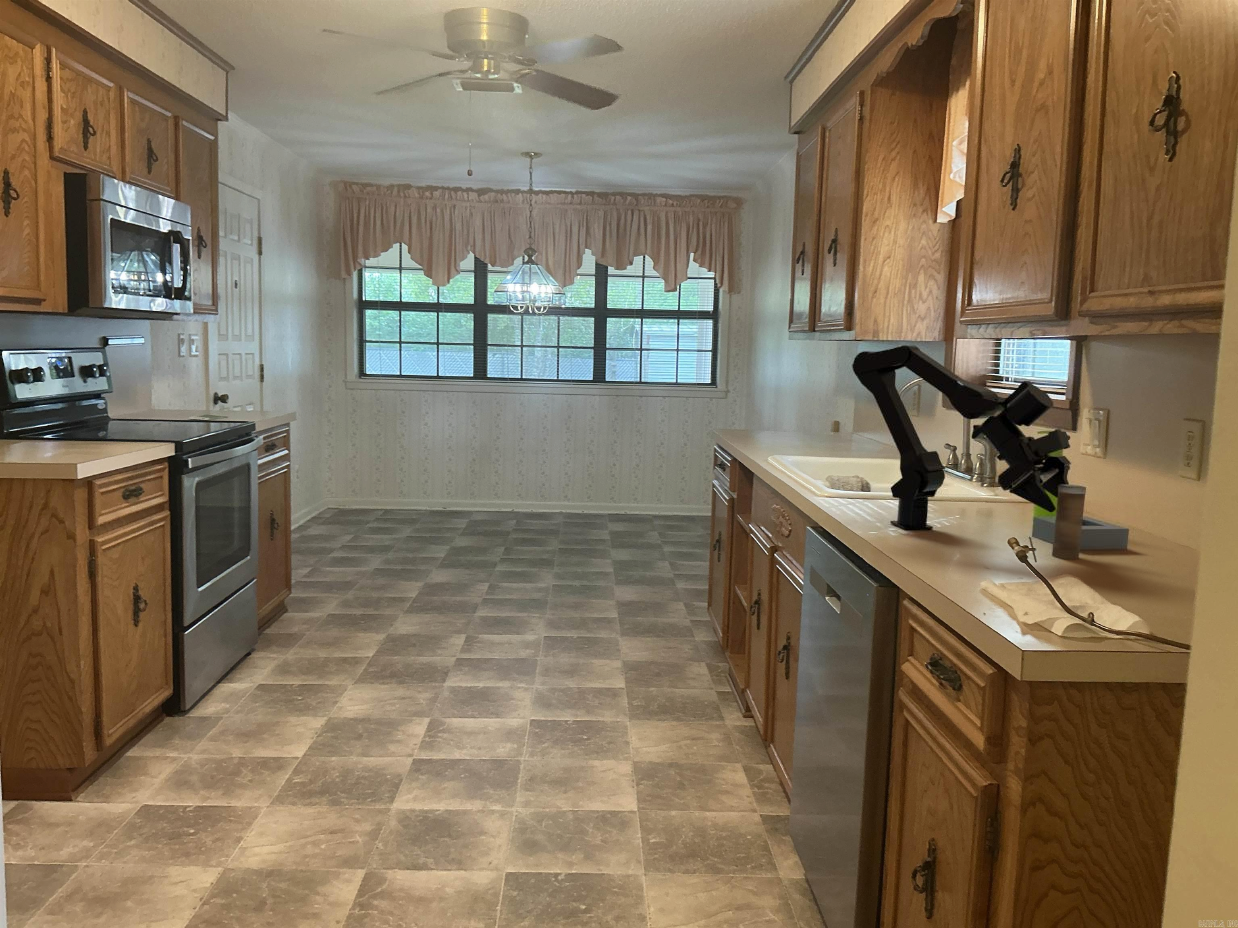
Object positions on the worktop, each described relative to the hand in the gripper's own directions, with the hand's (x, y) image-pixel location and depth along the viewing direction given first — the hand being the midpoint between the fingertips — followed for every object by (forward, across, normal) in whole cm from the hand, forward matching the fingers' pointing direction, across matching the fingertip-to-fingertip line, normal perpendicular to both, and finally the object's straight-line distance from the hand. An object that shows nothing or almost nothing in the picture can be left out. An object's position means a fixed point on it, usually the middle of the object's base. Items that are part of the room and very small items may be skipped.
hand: (1064, 508), depth 169 cm
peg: (+7, 0, +6) cm, 9 cm away
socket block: (+4, +15, +8) cm, 18 cm away
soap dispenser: (-5, +31, +18) cm, 36 cm away
